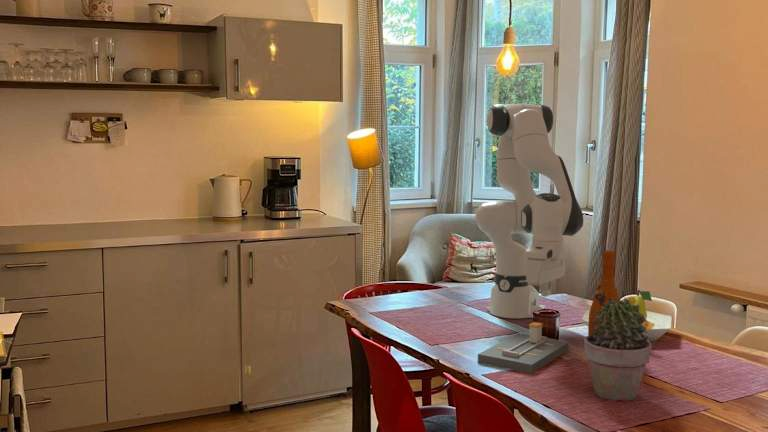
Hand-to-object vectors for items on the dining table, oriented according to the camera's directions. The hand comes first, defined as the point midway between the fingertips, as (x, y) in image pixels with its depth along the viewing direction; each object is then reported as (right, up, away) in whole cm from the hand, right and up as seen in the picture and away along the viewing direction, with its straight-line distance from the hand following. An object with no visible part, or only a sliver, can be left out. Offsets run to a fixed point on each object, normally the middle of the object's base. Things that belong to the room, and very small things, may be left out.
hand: (546, 295), depth 227 cm
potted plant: (+10, -20, -39) cm, 45 cm away
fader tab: (-4, -13, -3) cm, 14 cm away
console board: (-8, -16, -9) cm, 20 cm away
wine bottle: (+16, -16, -7) cm, 23 cm away
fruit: (+28, -14, +15) cm, 35 cm away
